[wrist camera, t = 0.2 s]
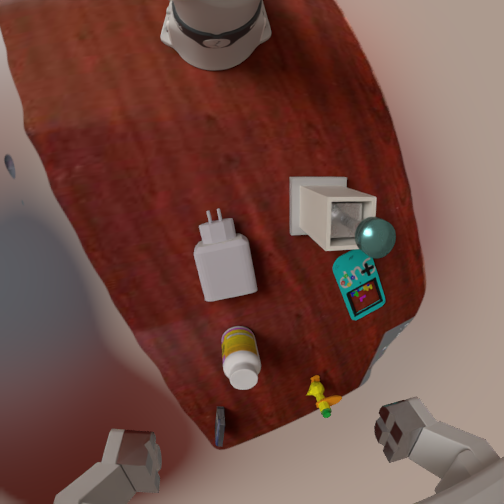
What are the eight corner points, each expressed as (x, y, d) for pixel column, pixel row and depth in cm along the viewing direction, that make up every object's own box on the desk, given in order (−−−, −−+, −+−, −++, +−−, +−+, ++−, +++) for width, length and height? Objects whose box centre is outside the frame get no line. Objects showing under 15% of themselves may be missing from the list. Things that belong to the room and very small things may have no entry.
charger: (239, 201, 55) (254, 281, 60) (186, 212, 54) (205, 291, 59) (242, 206, 50) (258, 292, 55) (184, 218, 50) (205, 302, 55)
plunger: (325, 201, 44) (361, 218, 33) (356, 201, 45) (398, 218, 34) (324, 234, 46) (358, 261, 34) (354, 233, 46) (394, 258, 35)
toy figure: (329, 368, 68) (346, 403, 56) (330, 379, 69) (347, 414, 58) (300, 377, 68) (314, 414, 56) (303, 388, 69) (316, 424, 57)
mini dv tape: (217, 406, 68) (218, 424, 62) (223, 406, 68) (225, 424, 62) (214, 428, 70) (215, 446, 64) (221, 428, 70) (222, 446, 65)
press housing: (289, 176, 54) (317, 186, 40) (343, 176, 55) (385, 186, 41) (289, 233, 57) (315, 261, 43) (342, 230, 58) (380, 257, 44)
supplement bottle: (217, 328, 62) (219, 369, 49) (250, 321, 62) (259, 360, 50) (226, 355, 64) (229, 397, 51) (257, 348, 64) (267, 389, 52)
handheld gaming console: (368, 243, 59) (387, 303, 64) (365, 241, 60) (385, 301, 65) (330, 263, 59) (353, 322, 64) (328, 261, 60) (351, 320, 65)
